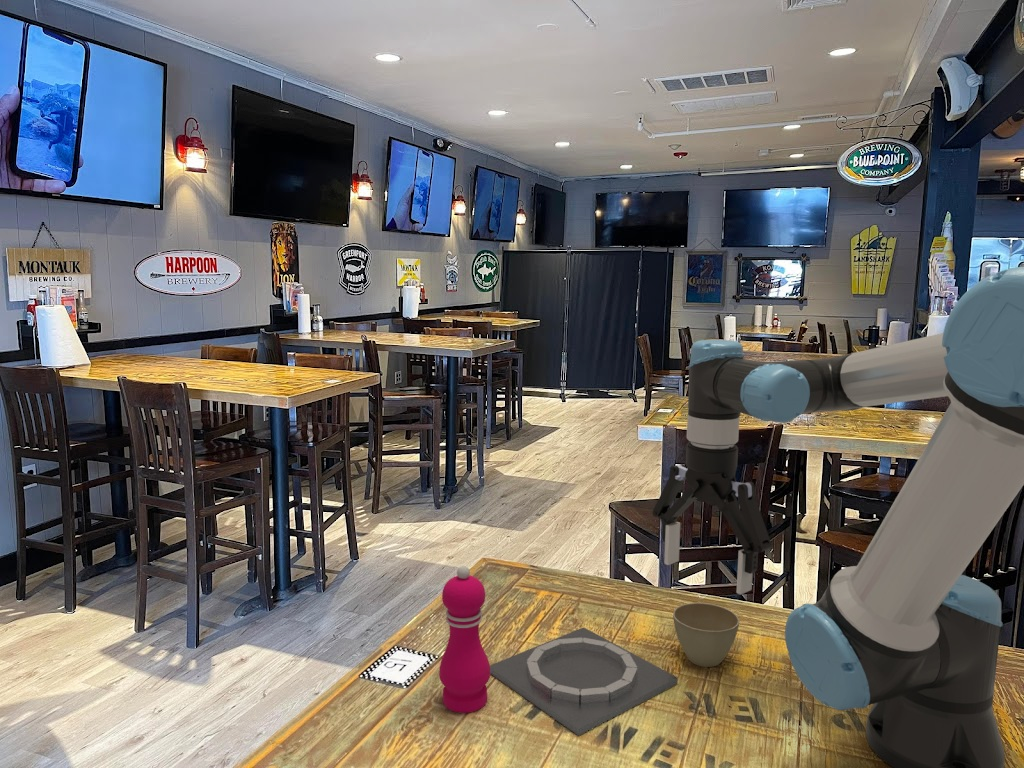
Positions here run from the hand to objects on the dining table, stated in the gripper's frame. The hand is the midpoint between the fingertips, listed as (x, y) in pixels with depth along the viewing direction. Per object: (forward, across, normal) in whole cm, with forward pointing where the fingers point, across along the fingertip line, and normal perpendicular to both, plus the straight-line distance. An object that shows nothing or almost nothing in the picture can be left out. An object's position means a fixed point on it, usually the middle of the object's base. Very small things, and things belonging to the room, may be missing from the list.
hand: (706, 576), depth 114 cm
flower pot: (+14, 0, 0) cm, 14 cm away
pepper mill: (+14, +14, +36) cm, 41 cm away
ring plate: (+14, +8, +19) cm, 25 cm away
